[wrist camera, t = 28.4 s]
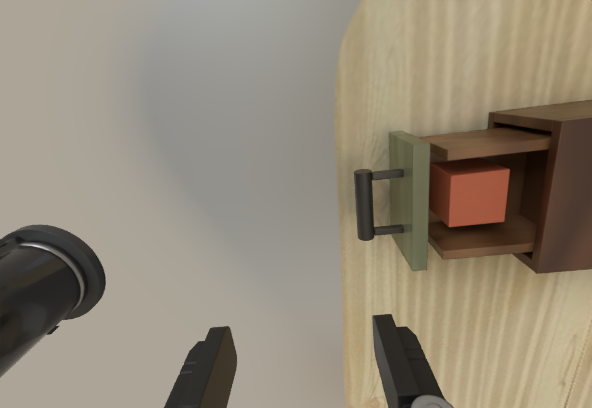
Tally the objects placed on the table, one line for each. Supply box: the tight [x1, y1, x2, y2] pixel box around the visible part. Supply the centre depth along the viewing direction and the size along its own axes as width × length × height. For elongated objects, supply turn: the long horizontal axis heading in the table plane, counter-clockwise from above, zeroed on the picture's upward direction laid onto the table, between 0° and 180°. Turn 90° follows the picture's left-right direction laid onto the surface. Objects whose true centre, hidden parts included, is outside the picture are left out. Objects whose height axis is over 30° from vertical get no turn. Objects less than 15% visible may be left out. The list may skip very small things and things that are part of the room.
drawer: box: [354, 126, 552, 271], centre depth 26 cm, size 16×10×7 cm, turn 97°
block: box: [429, 158, 510, 227], centre depth 26 cm, size 4×4×4 cm
